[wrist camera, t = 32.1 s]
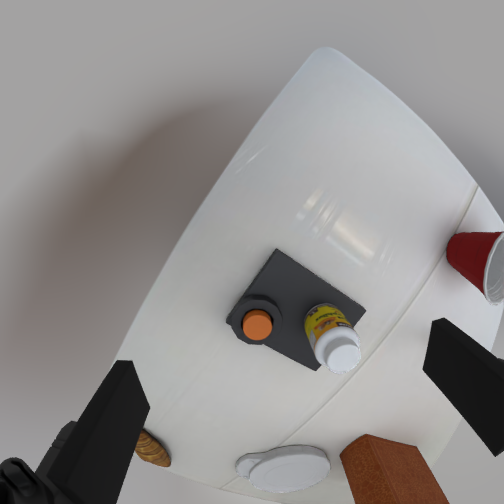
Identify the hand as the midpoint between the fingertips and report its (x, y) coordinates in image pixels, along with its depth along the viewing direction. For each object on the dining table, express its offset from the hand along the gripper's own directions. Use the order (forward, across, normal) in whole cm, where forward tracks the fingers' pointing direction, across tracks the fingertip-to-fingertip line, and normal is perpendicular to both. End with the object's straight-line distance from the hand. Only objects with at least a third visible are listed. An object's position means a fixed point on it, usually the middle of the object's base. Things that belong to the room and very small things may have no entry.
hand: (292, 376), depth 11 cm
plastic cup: (+27, +33, -4) cm, 43 cm away
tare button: (+24, -1, -9) cm, 26 cm away
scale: (+27, +4, -10) cm, 29 cm away
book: (+27, +24, -51) cm, 62 cm away
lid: (+27, +1, -48) cm, 55 cm away
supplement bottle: (+26, +8, -11) cm, 29 cm away
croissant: (+27, -25, -38) cm, 53 cm away
